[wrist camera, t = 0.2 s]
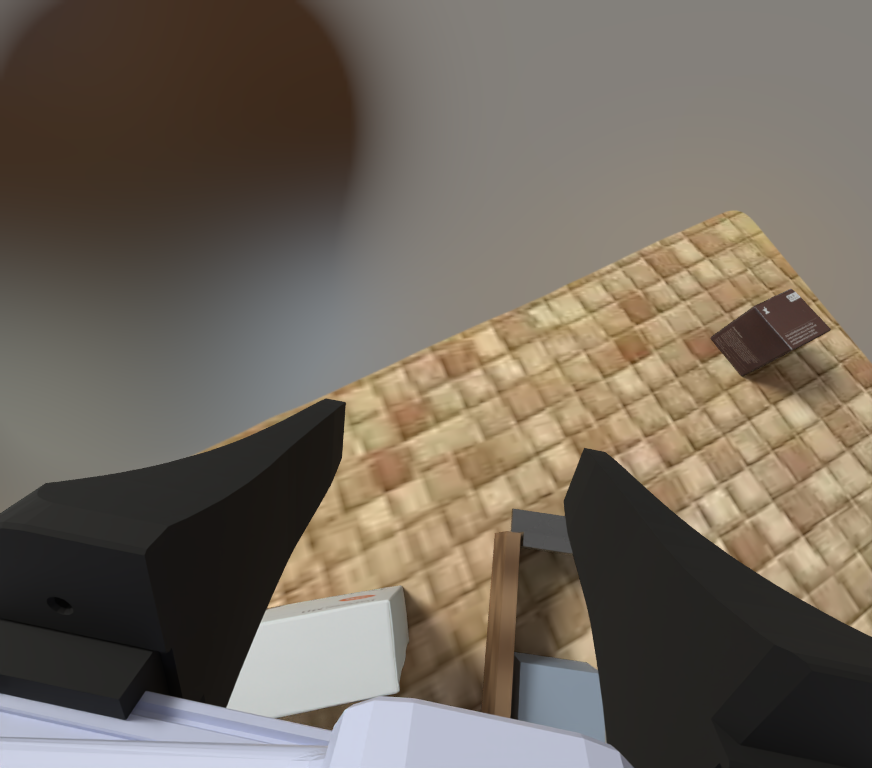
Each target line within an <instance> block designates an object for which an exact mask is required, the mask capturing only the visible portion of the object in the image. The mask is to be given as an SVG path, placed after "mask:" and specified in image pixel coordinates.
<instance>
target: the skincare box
mask: <svg viewBox="0 0 872 768" xmlns="http://www.w3.org/2000/svg"><path fill="white" fill-rule="evenodd" d="M408 643H409V634H408V623H407V613H406V604H405V598H404V592H403V587H402V586H401V585H400V586H393V587H387V588H381V589H374V590H368V591H362V592H356V593H351V594H345V595H339V596H333V597H328V598H322V599H315V600H310V601H305V602H299V603H294V604H288V605H283V606H277V607H271V608H267V609H266V611H265V614H264V616H263V618H262V621H261V623H260V625H259V628H258V630H257V632H256V635H255V637H254V640H253V642H252V645H251V647H250V649H249V652H248V654H247V657H246V659H245V662H244V664H243V667H242V669H241V671H240V674H239V676H238V679H237V682H236V684H235V687H234V689H233V692H232V695H231V697H230V700H229V702H228V705H227V707H226V708H228V709H233V710H238V711H242V712H247V713H252V714H256V715H261V716H266V717H271V718H280V717H285V716H289V715H294V714H299V713H303V712H308V711H313V710H318V709H322V708H327V707H332V706H337V705H341V704H346V703H351V702H356V701H361V700H366V699H371V698H375V697H378V696H386V695H391V694H396V693H398V692H399V691H400V688H399V681H400V676H401V671H402V668H403V666H404V662H405V658H406V648H407V645H408Z"/></svg>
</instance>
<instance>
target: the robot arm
mask: <svg viewBox="0 0 872 768" xmlns="http://www.w3.org/2000/svg"><path fill="white" fill-rule="evenodd" d="M345 406H346V402H342V401H336V400H331V399H324V400H322V401H319V402H317V403H316V404H314V405H312V406H310V407H308V408H306V409H304V410H302V411H300V412H299V413H297V414H295V415H293V416H291V417H289V418H287V419H285V420H283V421H281V422H279V423H277V424H275V425H273V426H270V427H268V428H266V429H264V430H262V431H259V432H257V433H255V434H253V435H251V436H248V437H246V438H244V439H241V440H239V441H236V442H233V443H231V444H228V445H225V446H222V447H219V448H217V449H214V450H211V451H208V452H204V453H201V454H197V455H194V456H190V457H186V458H183V459H179V460H176V461H172V462H169V463H164V464H160V465H156V466H151V467H147V468H142V469H137V470H132V471H127V472H122V473H116V474H110V475H104V476H97V477H90V478H83V479H76V480H68V481H61V482H52V483H46V484H44V485H42V486H41V487H40V488H38V489H36V490H35V491H33V492H32V493H30V494H29V495H27V496H26V497H24V498H23V499H21V500H20V501H18V502H17V503H15V504H14V505H12V506H11V507H9V508H8V509H6V510H5V511H3V512H2V513H0V768H872V637H870V636H868V635H866V634H864V633H862V632H860V631H858V630H856V629H854V628H852V627H850V626H848V625H846V624H844V623H842V622H841V621H839V620H837V619H835V618H833V617H831V616H829V615H828V614H826V613H824V612H822V611H820V610H819V609H817V608H815V607H813V606H811V605H810V604H808V603H806V602H804V601H802V600H801V599H799V598H797V597H795V596H794V595H792V594H790V593H789V592H787V591H785V590H783V589H782V588H780V587H778V586H777V585H775V584H773V583H772V582H770V581H769V580H767V579H765V578H764V577H762V576H761V575H759V574H758V573H756V572H754V571H753V570H751V569H750V568H748V567H747V566H745V565H743V564H742V563H740V562H739V561H737V560H736V559H735V558H733V557H732V556H730V555H729V554H727V553H726V552H724V551H723V550H722V549H720V548H719V547H718V546H716V545H715V544H713V543H712V542H711V541H709V540H708V539H706V538H705V537H704V536H702V535H701V534H700V533H698V532H697V531H696V530H695V529H693V528H692V527H691V526H689V525H688V524H687V523H686V522H685V521H683V520H682V519H681V518H680V517H679V516H677V515H676V514H675V513H674V512H672V511H671V510H670V509H669V508H668V507H667V506H665V505H664V504H663V503H662V502H661V501H660V500H659V499H657V498H656V497H655V496H654V495H653V494H652V493H651V492H650V491H648V490H647V489H646V488H645V487H644V486H643V485H642V484H641V483H640V482H639V481H637V480H636V479H635V478H634V477H633V476H632V475H631V474H630V473H629V472H628V471H627V470H626V469H624V468H623V467H622V466H621V465H620V464H619V463H618V462H617V461H615V460H614V459H613V458H612V457H611V456H609V455H608V454H607V453H606V452H602V451H597V450H592V449H587V448H584V450H583V452H582V455H581V458H580V460H579V463H578V465H577V468H576V471H575V473H574V476H573V478H572V481H571V483H570V486H569V489H568V491H567V494H566V496H565V499H564V510H565V519H566V527H567V533H568V537H569V541H570V545H571V549H572V553H573V557H574V560H575V564H576V568H577V571H578V575H579V579H580V582H581V586H582V590H583V594H584V597H585V601H586V605H587V609H588V614H589V618H590V623H591V629H592V635H593V641H594V647H595V654H596V660H597V667H598V674H599V682H600V689H601V696H602V704H603V714H604V723H605V732H606V741H607V743H604V742H602V741H599V740H597V739H594V738H591V737H589V736H586V735H583V734H581V733H577V732H572V731H567V730H563V729H558V728H553V727H548V726H544V725H539V724H534V723H529V722H525V721H520V720H515V719H510V718H506V717H501V716H496V715H491V714H487V713H482V712H477V711H472V710H468V709H463V708H458V707H453V706H449V705H444V704H439V703H434V702H430V701H425V700H420V699H415V698H402V697H385V696H378V697H375V698H372V699H369V700H366V701H363V702H360V703H356V704H353V705H352V706H350V707H349V708H347V709H345V711H344V712H343V714H342V715H341V717H340V718H339V720H338V721H337V723H336V724H335V726H334V727H333V731H331V730H327V729H322V728H317V727H313V726H308V725H303V724H299V723H294V722H289V721H285V720H280V719H275V718H271V717H266V716H261V715H256V714H252V713H247V712H242V711H238V710H233V709H228V708H226V707H227V705H228V702H229V700H230V697H231V695H232V692H233V689H234V687H235V684H236V682H237V679H238V676H239V674H240V671H241V669H242V667H243V664H244V662H245V659H246V657H247V654H248V652H249V649H250V647H251V645H252V642H253V640H254V637H255V635H256V632H257V630H258V628H259V625H260V623H261V621H262V618H263V616H264V614H265V611H266V609H267V607H268V604H269V602H270V600H271V597H272V595H273V593H274V590H275V588H276V586H277V584H278V582H279V579H280V577H281V575H282V573H283V571H284V568H285V566H286V564H287V562H288V560H289V558H290V556H291V554H292V552H293V550H294V548H295V546H296V545H297V543H298V541H299V539H300V538H301V536H302V534H303V533H304V531H305V529H306V527H307V526H308V524H309V522H310V521H311V519H312V517H313V515H314V514H315V512H316V510H317V508H318V507H319V505H320V503H321V502H322V500H323V498H324V496H325V495H326V493H327V491H328V489H329V487H330V486H331V483H332V481H333V479H334V476H335V474H336V472H337V469H338V466H339V464H340V461H341V459H342V450H343V435H344V421H345Z"/></svg>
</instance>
